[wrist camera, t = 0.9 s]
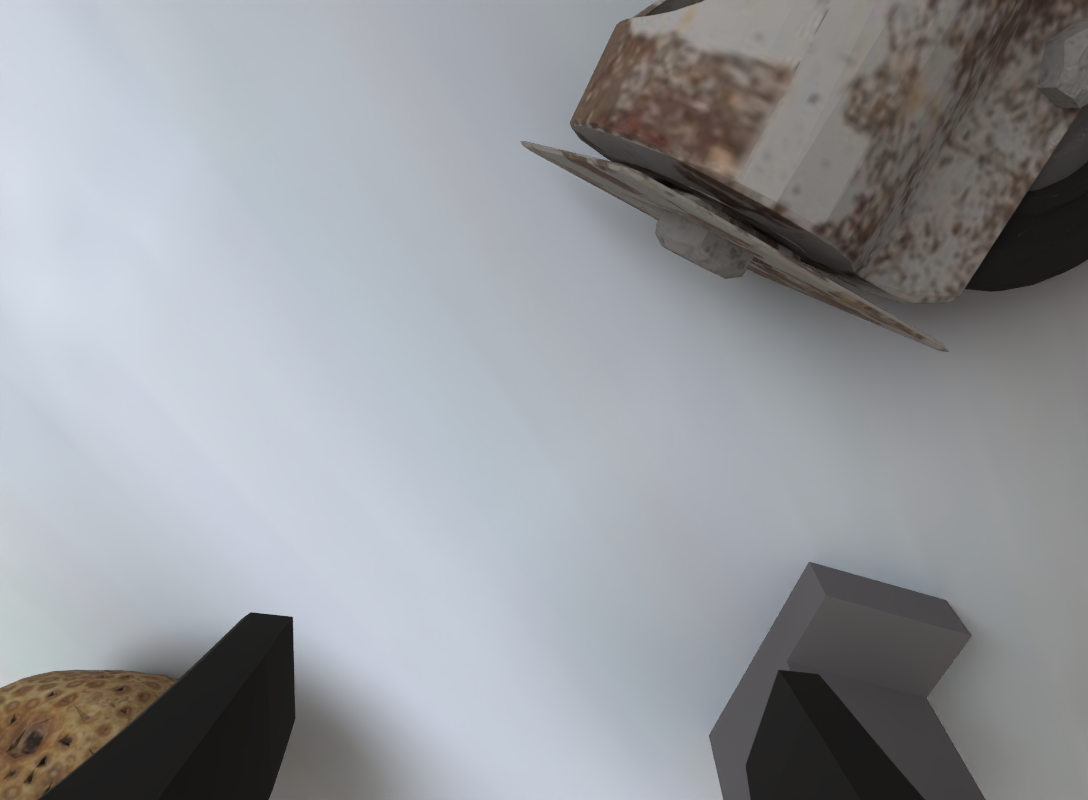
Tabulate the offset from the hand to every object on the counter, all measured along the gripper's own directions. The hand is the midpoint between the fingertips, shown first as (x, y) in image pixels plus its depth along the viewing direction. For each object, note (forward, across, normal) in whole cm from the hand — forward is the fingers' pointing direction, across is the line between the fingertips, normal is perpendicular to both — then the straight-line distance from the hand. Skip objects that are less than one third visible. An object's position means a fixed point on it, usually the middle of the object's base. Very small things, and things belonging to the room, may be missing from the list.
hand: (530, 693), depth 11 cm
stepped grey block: (+10, -10, +8) cm, 16 cm away
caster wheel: (+10, -6, -9) cm, 15 cm away
